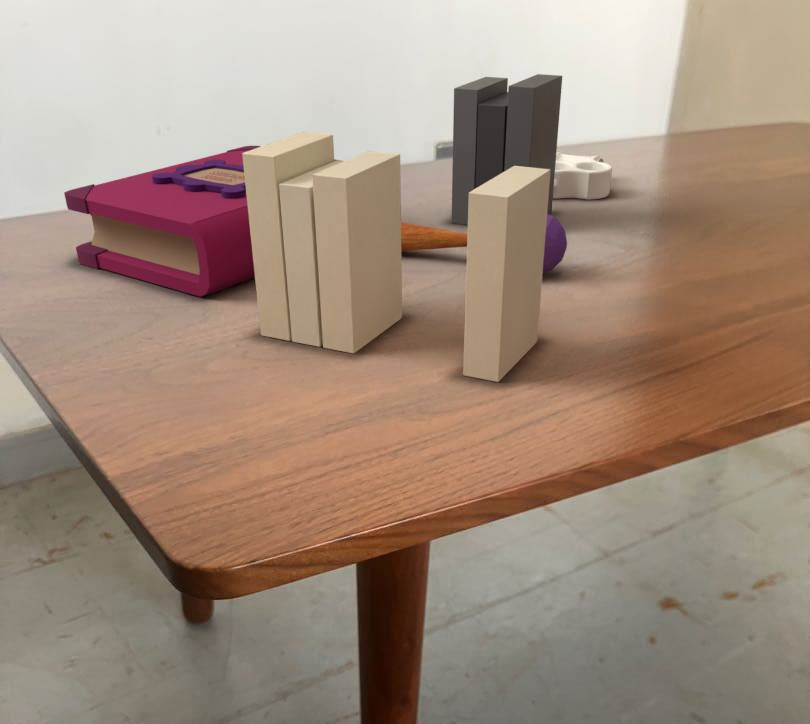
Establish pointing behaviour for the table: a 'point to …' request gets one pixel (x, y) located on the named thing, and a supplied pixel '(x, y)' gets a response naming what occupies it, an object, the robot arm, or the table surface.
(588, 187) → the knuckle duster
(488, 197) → the cream book
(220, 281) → the book
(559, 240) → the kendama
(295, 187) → the cream books
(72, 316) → the table surface
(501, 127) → the grey books
